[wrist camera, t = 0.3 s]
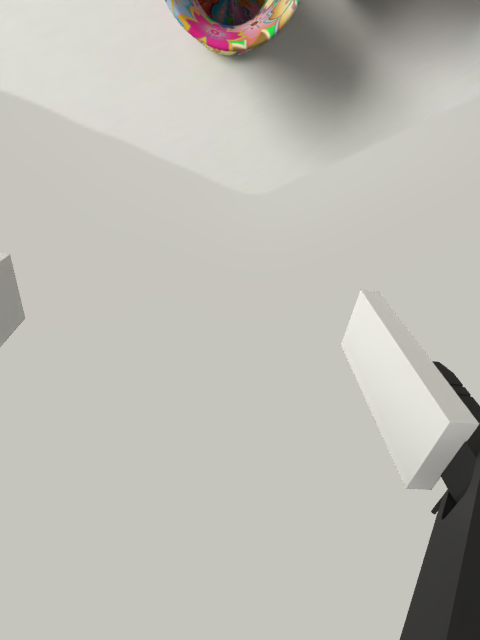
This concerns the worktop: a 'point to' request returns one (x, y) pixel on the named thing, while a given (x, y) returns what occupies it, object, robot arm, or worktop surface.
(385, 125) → the worktop surface
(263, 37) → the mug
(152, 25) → the worktop surface
